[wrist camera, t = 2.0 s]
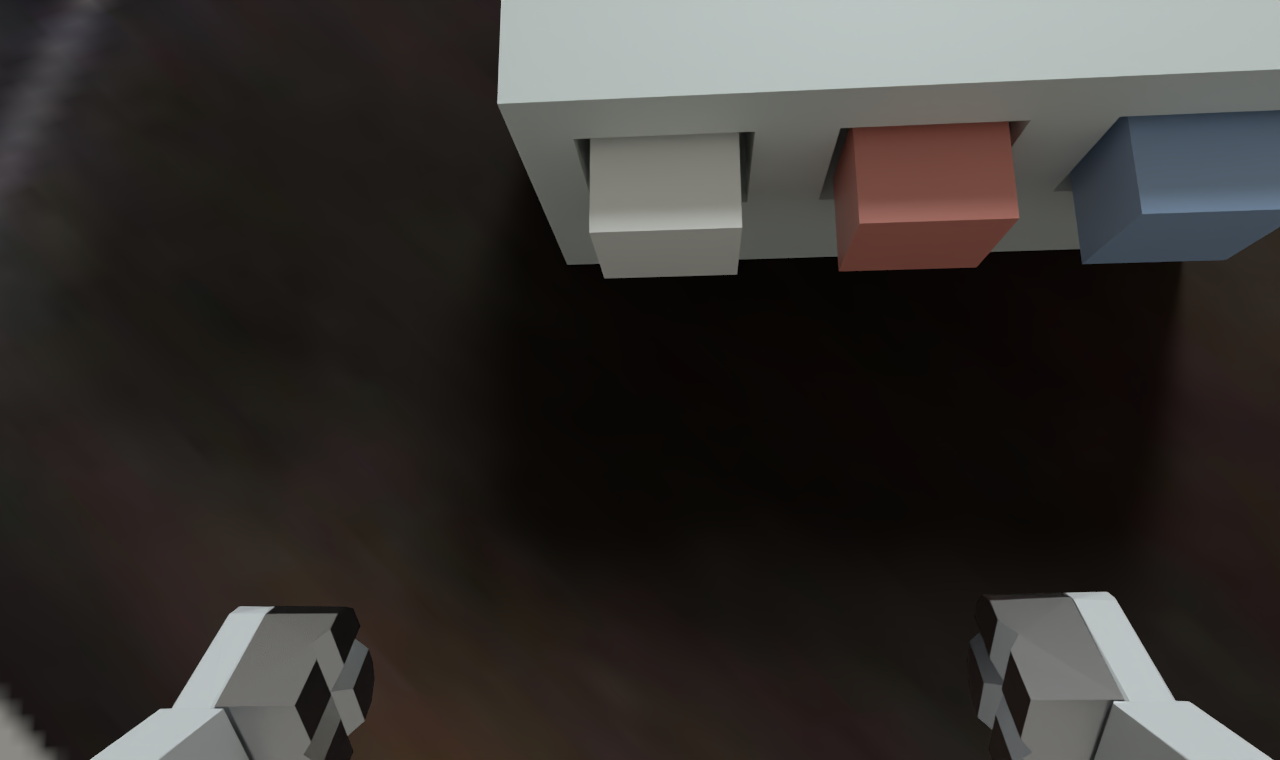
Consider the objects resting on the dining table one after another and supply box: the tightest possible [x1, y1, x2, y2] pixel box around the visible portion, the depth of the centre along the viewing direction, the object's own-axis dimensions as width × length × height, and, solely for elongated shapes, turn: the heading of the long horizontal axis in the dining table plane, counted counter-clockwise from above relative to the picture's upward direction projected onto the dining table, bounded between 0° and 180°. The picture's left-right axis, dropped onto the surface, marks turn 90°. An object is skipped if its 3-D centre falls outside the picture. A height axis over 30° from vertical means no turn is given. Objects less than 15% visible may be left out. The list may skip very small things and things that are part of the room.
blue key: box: [1070, 110, 1280, 264], centre depth 23 cm, size 4×3×4 cm
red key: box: [833, 121, 1019, 271], centre depth 24 cm, size 4×3×4 cm
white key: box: [589, 132, 742, 278], centre depth 24 cm, size 4×3×4 cm
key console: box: [497, 0, 1280, 265], centre depth 27 cm, size 22×10×11 cm, turn 90°
